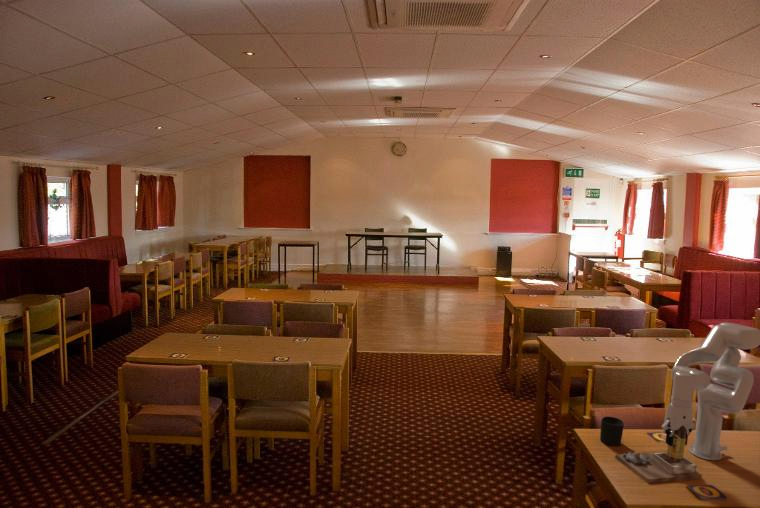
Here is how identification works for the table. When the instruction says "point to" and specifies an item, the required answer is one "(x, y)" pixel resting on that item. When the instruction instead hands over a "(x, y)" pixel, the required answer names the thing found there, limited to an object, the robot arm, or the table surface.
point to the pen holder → (611, 431)
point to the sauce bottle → (677, 444)
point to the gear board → (658, 466)
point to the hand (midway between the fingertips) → (676, 443)
